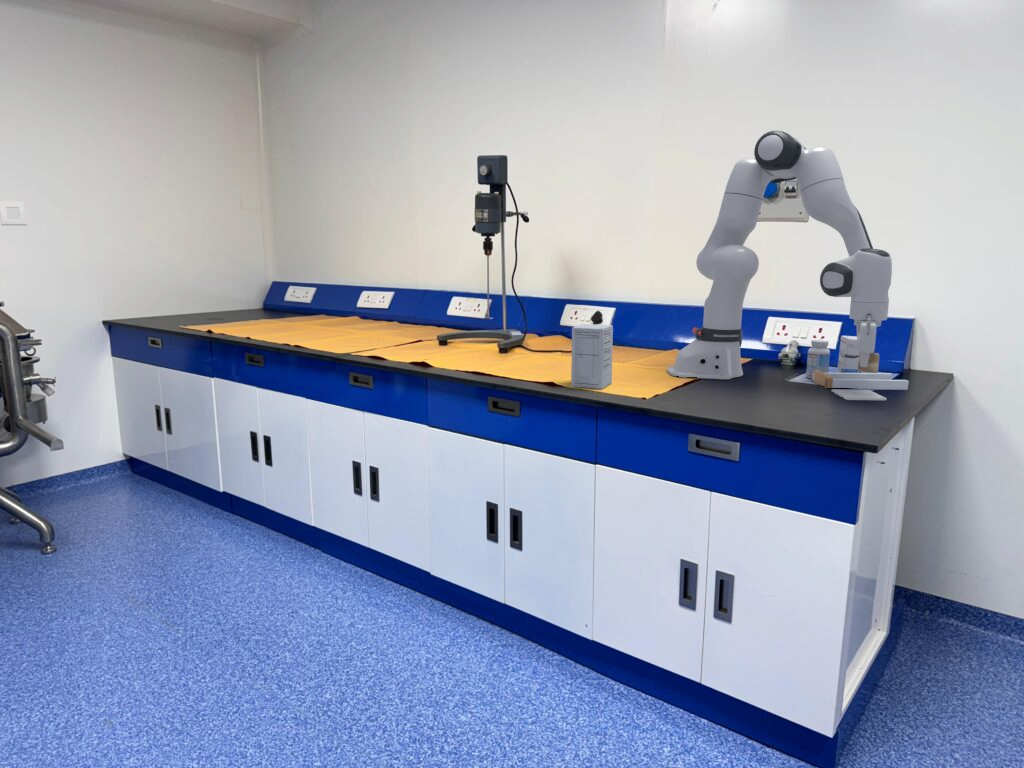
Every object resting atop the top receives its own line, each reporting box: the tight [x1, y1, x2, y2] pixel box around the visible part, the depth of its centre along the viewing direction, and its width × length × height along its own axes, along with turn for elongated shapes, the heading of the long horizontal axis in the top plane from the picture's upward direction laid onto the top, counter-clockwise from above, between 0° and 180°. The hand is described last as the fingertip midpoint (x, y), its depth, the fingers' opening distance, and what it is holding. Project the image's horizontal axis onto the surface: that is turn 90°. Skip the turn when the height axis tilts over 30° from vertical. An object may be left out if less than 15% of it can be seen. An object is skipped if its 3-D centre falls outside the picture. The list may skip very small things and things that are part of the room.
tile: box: [831, 389, 887, 401], centre depth 186 cm, size 10×10×1 cm
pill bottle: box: [805, 339, 831, 379], centre depth 208 cm, size 6×6×11 cm
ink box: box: [836, 335, 862, 373], centre depth 211 cm, size 8×5×12 cm, turn 168°
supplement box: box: [570, 323, 614, 390], centre depth 196 cm, size 10×9×17 cm
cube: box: [858, 352, 880, 373], centre depth 184 cm, size 4×4×4 cm
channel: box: [811, 370, 910, 391], centre depth 199 cm, size 22×11×3 cm, turn 87°
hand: (863, 364), depth 184 cm, fingers closed on cube, 4 cm apart
